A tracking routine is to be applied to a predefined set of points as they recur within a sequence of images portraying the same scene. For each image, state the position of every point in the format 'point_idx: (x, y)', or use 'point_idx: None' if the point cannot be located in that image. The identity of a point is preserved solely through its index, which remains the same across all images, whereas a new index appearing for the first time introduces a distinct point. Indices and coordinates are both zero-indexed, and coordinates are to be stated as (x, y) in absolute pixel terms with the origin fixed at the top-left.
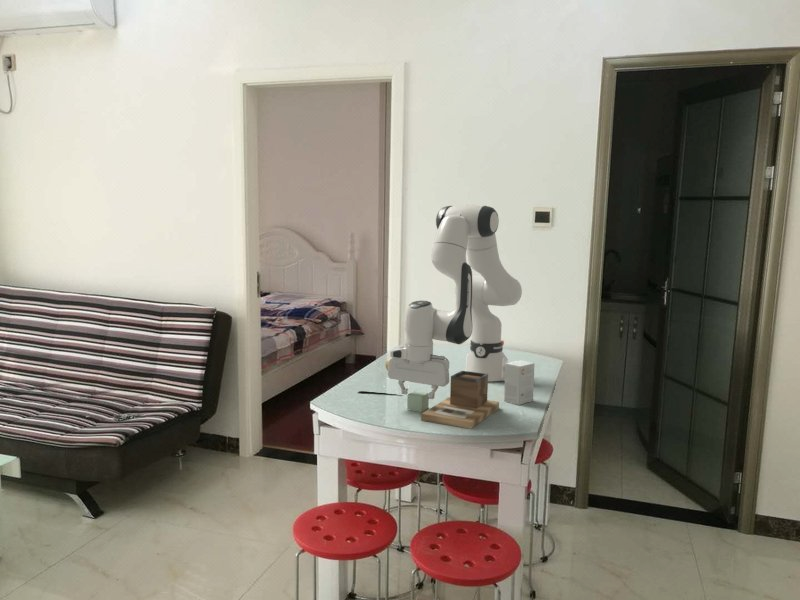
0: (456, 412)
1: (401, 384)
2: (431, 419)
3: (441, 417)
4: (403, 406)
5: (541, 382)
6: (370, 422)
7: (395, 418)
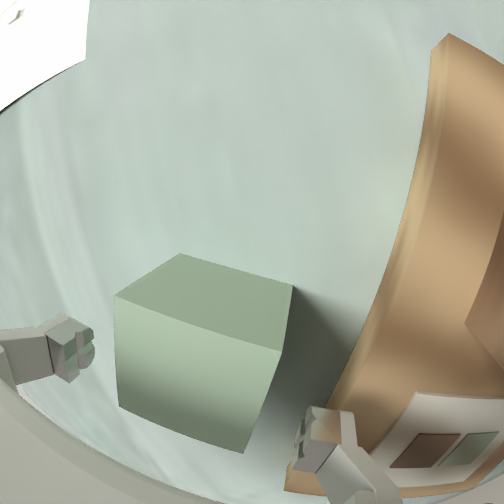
0: (456, 456)
1: (15, 373)
2: None
3: None
4: (125, 284)
5: None
6: None
7: (176, 451)
